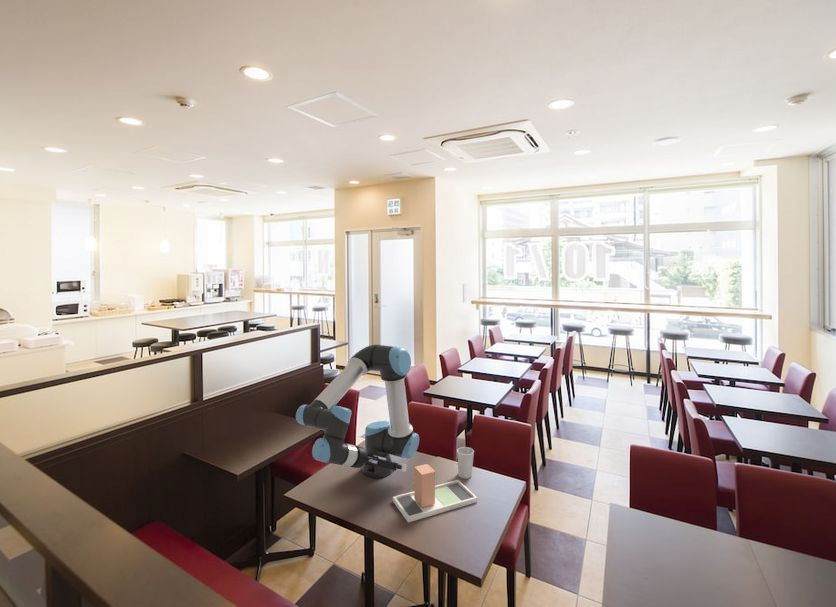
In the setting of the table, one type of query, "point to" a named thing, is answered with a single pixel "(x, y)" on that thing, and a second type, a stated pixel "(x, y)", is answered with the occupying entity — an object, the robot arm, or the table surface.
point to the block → (424, 485)
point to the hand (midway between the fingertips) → (395, 464)
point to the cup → (465, 462)
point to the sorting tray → (445, 500)
